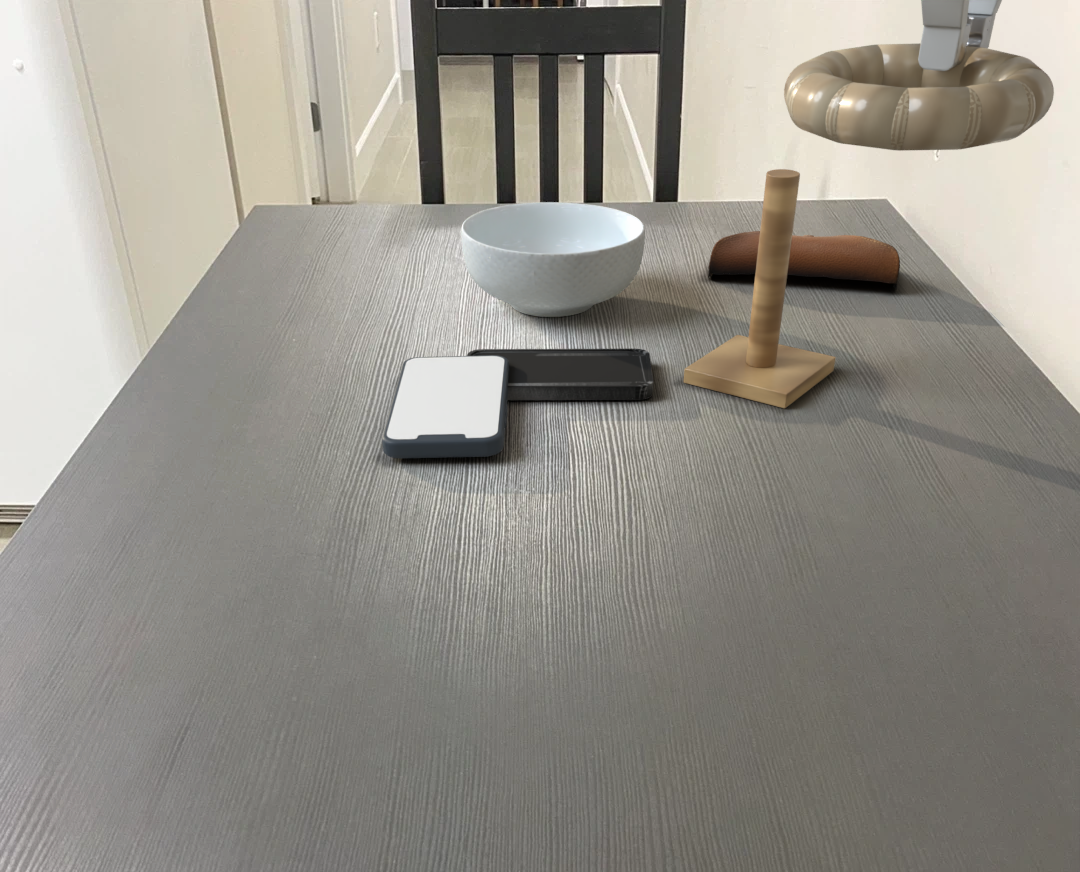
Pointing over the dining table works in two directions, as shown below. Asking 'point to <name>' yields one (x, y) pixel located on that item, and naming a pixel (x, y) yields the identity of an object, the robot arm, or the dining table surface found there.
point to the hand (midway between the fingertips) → (952, 62)
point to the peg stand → (766, 318)
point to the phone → (576, 373)
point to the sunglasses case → (812, 257)
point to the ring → (916, 98)
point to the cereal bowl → (552, 255)
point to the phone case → (448, 408)
